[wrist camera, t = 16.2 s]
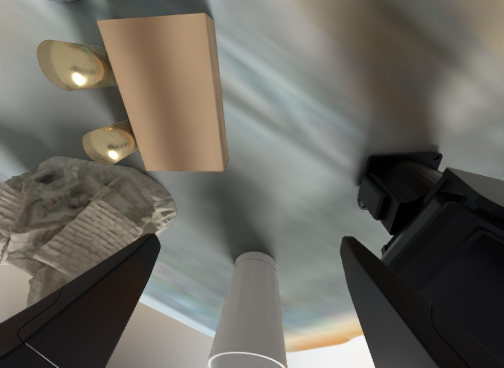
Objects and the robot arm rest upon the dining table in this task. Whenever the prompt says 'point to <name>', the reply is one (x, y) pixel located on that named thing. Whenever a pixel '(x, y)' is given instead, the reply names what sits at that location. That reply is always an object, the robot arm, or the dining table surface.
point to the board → (170, 89)
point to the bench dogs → (86, 77)
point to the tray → (62, 1)
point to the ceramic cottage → (75, 218)
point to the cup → (250, 318)
